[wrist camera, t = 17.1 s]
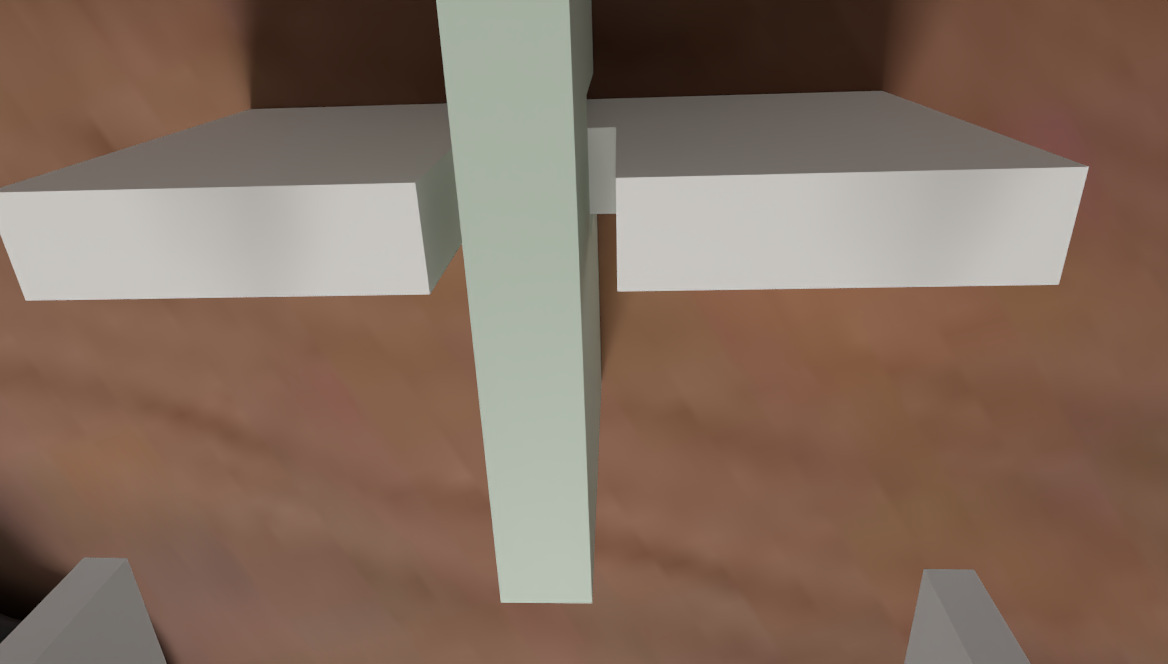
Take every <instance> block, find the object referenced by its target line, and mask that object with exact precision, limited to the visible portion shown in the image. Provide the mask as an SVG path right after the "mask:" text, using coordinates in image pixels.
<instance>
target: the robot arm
mask: <svg viewBox="0 0 1168 664" xmlns="http://www.w3.org/2000/svg"><path fill="white" fill-rule="evenodd" d="M0 664H167V663H166V660H165V658H164V655H163V652H162V650H161V647H160V644H159V642H158V639H157V636H156V634H155V631H154V629H153V626H152V623H151V621H150V618H149V615H148V613H147V610H146V607H145V605H144V602H143V599H142V597H141V594H140V591H139V589H138V586H137V583H136V581H135V578H134V575H133V573H132V570H131V567H130V565H129V562H128V559H127V558H83V559H82V560H81V561H80V562H79V563H78V564H77V565H76V566H75V567H74V568H73V569H72V570H71V571H70V572H69V574H68V575H67V576H66V577H65V578H64V579H63V580H62V581H61V582H60V583H59V584H58V585H57V586H56V587H55V588H54V589H53V590H52V591H51V592H50V593H49V594H48V595H47V596H46V597H45V598H44V599H43V600H42V601H41V602H40V603H39V604H38V605H37V606H36V608H35V609H34V610H33V611H32V612H31V613H30V614H29V615H28V616H27V617H26V618H25V619H24V620H23V621H22V622H21V623H20V624H19V625H18V626H17V627H16V628H15V629H14V630H13V631H12V632H11V633H10V634H9V635H8V636H7V637H6V638H5V639H4V640H3V641H2V643H1V644H0ZM904 664H1031V663H1030V662H1029V660H1028V659H1027V657H1026V655H1025V654H1024V652H1023V650H1022V649H1021V647H1020V645H1019V644H1018V642H1017V640H1016V639H1015V637H1014V635H1013V634H1012V632H1011V630H1010V629H1009V627H1008V625H1007V624H1006V622H1005V620H1004V619H1003V617H1002V615H1001V614H1000V612H999V610H998V609H997V607H996V605H995V604H994V602H993V600H992V599H991V597H990V595H989V594H988V592H987V590H986V589H985V587H984V585H983V584H982V582H981V580H980V579H979V577H978V575H977V574H976V572H975V570H955V569H924V571H923V576H922V581H921V586H920V590H919V595H918V600H917V605H916V610H915V615H914V619H913V624H912V629H911V634H910V639H909V644H908V648H907V653H906V658H905V663H904Z"/></svg>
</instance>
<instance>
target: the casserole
mask: <svg viewBox="0 0 1168 664" xmlns="http://www.w3.org/2000/svg"><path fill="white" fill-rule="evenodd" d="M21 622H22V621H21V620H18V619H14V618H11V617H8V616H5V615H3V614H0V644H1V643H2V641H3V640H4V639H5V638H6V637H7V636H8V635H9V634H10V633H11V632H12V631H13V630H14V629H15V628H16V627H17V626H18V625H19V624H20V623H21Z"/></svg>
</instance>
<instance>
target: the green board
mask: <svg viewBox="0 0 1168 664" xmlns="http://www.w3.org/2000/svg"><path fill="white" fill-rule="evenodd" d="M436 4H437V14H438V23H439V32H440V41H441V51H442V60H443V69H444V79H445V88H446V97H447V106H448V116H449V125H450V134H451V144H452V153H453V162H454V171H455V181H456V190H457V199H458V208H459V218H460V227H461V236H462V246H463V255H464V264H465V273H466V283H467V292H468V301H469V311H470V320H471V329H472V338H473V348H474V357H475V366H476V376H477V385H478V394H479V403H480V413H481V422H482V431H483V441H484V450H485V459H486V468H487V478H488V487H489V496H490V505H491V515H492V524H493V533H494V543H495V552H496V561H497V570H498V580H499V589H500V598H501V603H592V594H593V570H594V547H595V523H596V500H597V476H598V453H599V429H600V406H601V383H602V381H601V343H600V305H599V267H598V230H597V214H590V195H589V162H588V129H587V97H586V95H587V92H588V89H589V85H590V82H591V79H592V76H593V41H592V3H591V0H436Z"/></svg>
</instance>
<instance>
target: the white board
mask: <svg viewBox="0 0 1168 664" xmlns="http://www.w3.org/2000/svg"><path fill="white" fill-rule="evenodd" d="M587 129H588V162H589V195H590V214H616V231H617V291H678V290H743V289H808V288H873V287H938V286H1003V285H1059V281H1060V278H1061V274H1062V270H1063V266H1064V262H1065V258H1066V254H1067V250H1068V246H1069V242H1070V239H1071V235H1072V231H1073V227H1074V223H1075V219H1076V215H1077V211H1078V207H1079V203H1080V199H1081V196H1082V192H1083V188H1084V184H1085V180H1086V176H1087V172H1088V168H1089V167H1088V166H1085V165H1083V164H1080V163H1077V162H1074V161H1072V160H1069V159H1066V158H1064V157H1061V156H1058V155H1055V154H1053V153H1050V152H1047V151H1045V150H1042V149H1039V148H1036V147H1034V146H1031V145H1028V144H1026V143H1023V142H1020V141H1017V140H1015V139H1012V138H1009V137H1007V136H1004V135H1001V134H998V133H996V132H993V131H990V130H988V129H985V128H982V127H979V126H977V125H974V124H971V123H969V122H966V121H963V120H960V119H958V118H955V117H952V116H950V115H947V114H944V113H941V112H939V111H936V110H933V109H931V108H928V107H925V106H922V105H920V104H917V103H914V102H912V101H909V100H906V99H903V98H901V97H898V96H895V95H893V94H890V93H887V92H884V91H854V92H820V93H785V94H751V95H717V96H683V97H649V98H614V99H587ZM0 234H1V237H2V240H3V242H4V245H5V247H6V250H7V253H8V255H9V258H10V261H11V263H12V266H13V268H14V271H15V274H16V276H17V279H18V281H19V284H20V287H21V289H22V292H23V295H24V297H25V300H26V301H27V300H93V299H157V298H223V297H288V296H353V295H418V294H430V293H431V292H432V290H433V289H434V287H435V285H436V284H437V282H438V281H439V279H440V277H441V276H442V274H443V273H444V271H445V269H446V268H447V266H448V265H449V263H450V261H451V260H452V258H453V257H454V255H455V253H456V252H457V250H458V249H459V247H460V245H461V244H462V236H461V227H460V218H459V208H458V199H457V190H456V181H455V171H454V162H453V153H452V144H451V134H450V125H449V116H448V106H447V103H443V104H409V105H375V106H341V107H306V108H272V109H249V110H246V111H243V112H240V113H236V114H233V115H230V116H227V117H224V118H221V119H217V120H214V121H211V122H208V123H205V124H202V125H198V126H195V127H192V128H189V129H186V130H182V131H179V132H176V133H173V134H170V135H167V136H163V137H160V138H157V139H154V140H151V141H148V142H144V143H141V144H138V145H135V146H132V147H128V148H125V149H122V150H119V151H116V152H113V153H109V154H106V155H103V156H100V157H97V158H94V159H90V160H87V161H84V162H81V163H78V164H74V165H71V166H68V167H65V168H62V169H59V170H55V171H52V172H49V173H46V174H43V175H40V176H36V177H33V178H30V179H27V180H24V181H21V182H17V183H14V184H11V185H8V186H5V187H1V188H0Z"/></svg>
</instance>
